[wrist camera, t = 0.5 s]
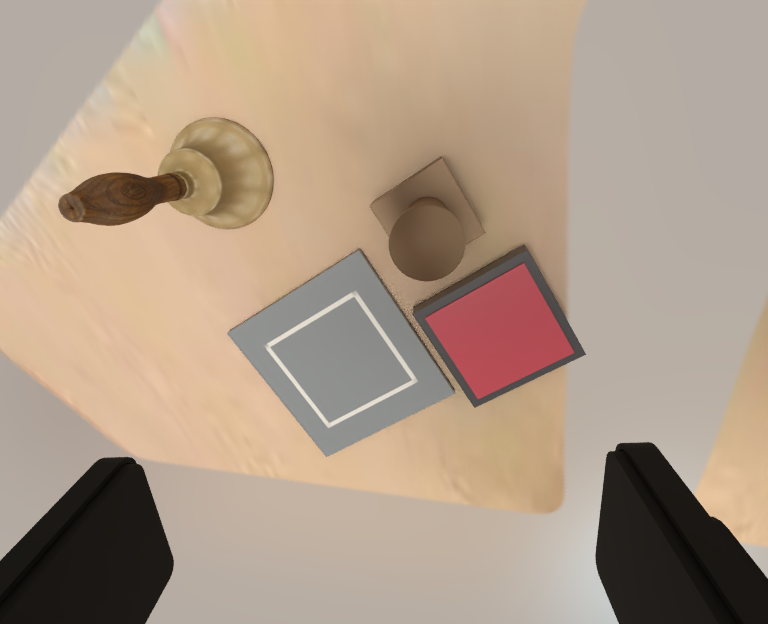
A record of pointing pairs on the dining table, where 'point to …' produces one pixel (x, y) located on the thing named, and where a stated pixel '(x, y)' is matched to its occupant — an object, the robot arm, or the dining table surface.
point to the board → (342, 356)
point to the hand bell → (185, 181)
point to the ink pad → (499, 328)
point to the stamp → (427, 223)
